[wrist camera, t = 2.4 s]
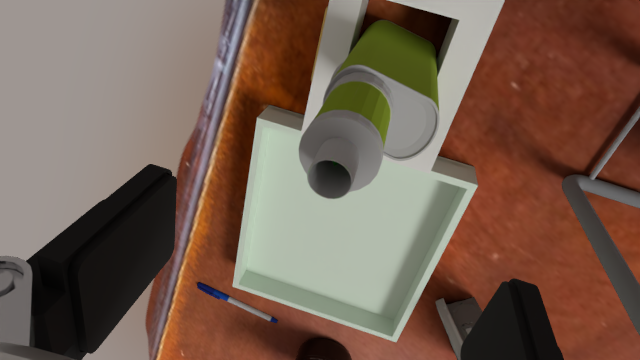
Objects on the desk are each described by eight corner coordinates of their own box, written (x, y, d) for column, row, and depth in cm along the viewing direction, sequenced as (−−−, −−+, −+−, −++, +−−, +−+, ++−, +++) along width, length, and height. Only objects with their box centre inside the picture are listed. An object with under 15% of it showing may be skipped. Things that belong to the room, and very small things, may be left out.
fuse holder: (350, -62, 28) (338, -62, 24) (500, -23, 27) (511, -16, 23) (311, 111, 35) (297, 133, 31) (429, 147, 34) (429, 173, 30)
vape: (371, 11, 30) (296, 108, 13) (444, 48, 30) (464, 191, 13) (349, 58, 32) (260, 193, 15) (418, 92, 32) (406, 265, 15)
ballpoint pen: (198, 284, 50) (194, 290, 49) (199, 279, 49) (195, 285, 48) (277, 320, 50) (274, 327, 49) (279, 316, 49) (276, 322, 48)
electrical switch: (433, 295, 42) (445, 376, 34) (485, 284, 40) (510, 365, 32) (458, 356, 46) (474, 442, 38) (506, 347, 44) (534, 435, 36)
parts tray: (269, 104, 35) (257, 117, 33) (474, 166, 34) (477, 185, 31) (243, 267, 46) (232, 286, 44) (398, 319, 45) (396, 342, 42)
